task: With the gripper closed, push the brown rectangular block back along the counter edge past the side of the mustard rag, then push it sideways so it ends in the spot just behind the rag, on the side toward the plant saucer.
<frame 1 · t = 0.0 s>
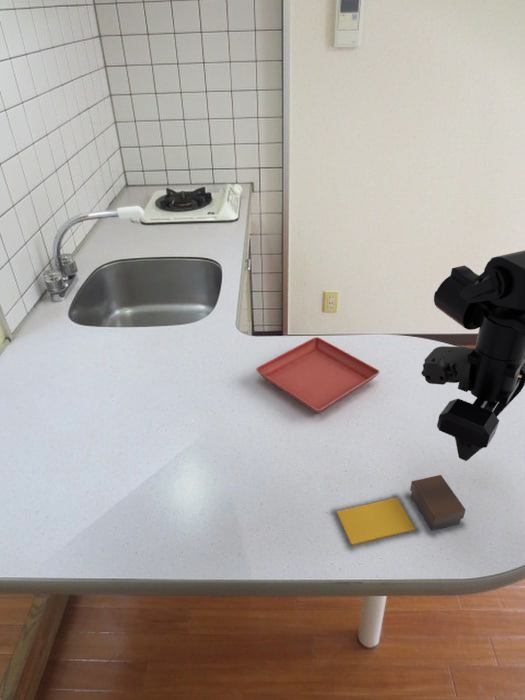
hand: (475, 439, 74), 13 cm above the table, tool pointing down, fingers open, 9 cm apart
plant saucer: (316, 383, 107), on the table
brown rectangular block: (434, 510, 80), on the table
cloth: (375, 521, 79), on the table
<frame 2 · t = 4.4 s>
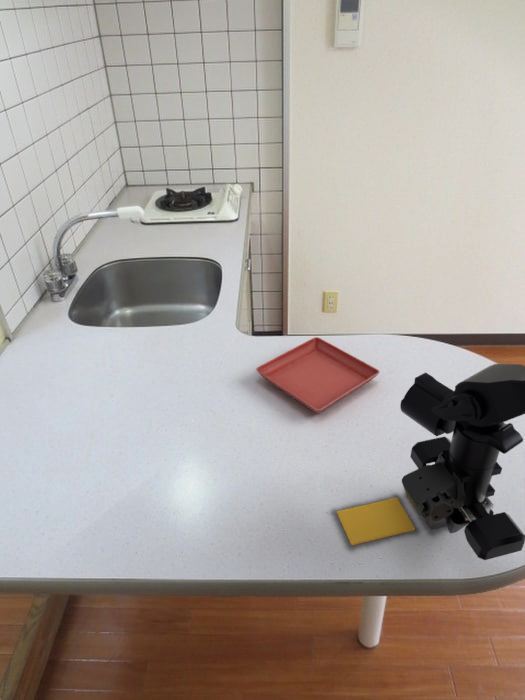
hand: (452, 531, 76), 1 cm above the table, tool pointing down, fingers closed
brown rectangular block: (433, 509, 80), on the table, touching gripper
everything else where it was.
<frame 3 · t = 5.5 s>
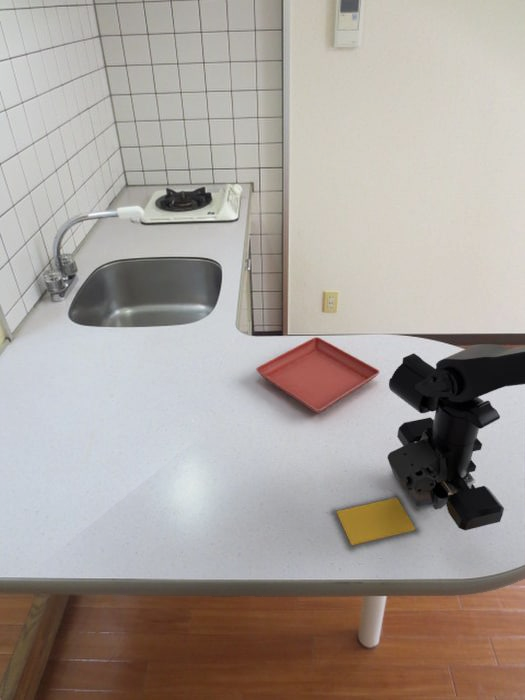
hand: (436, 507, 79), 1 cm above the table, tool pointing down, fingers closed
brown rectangular block: (420, 487, 84), on the table, touching gripper
everything else where it was.
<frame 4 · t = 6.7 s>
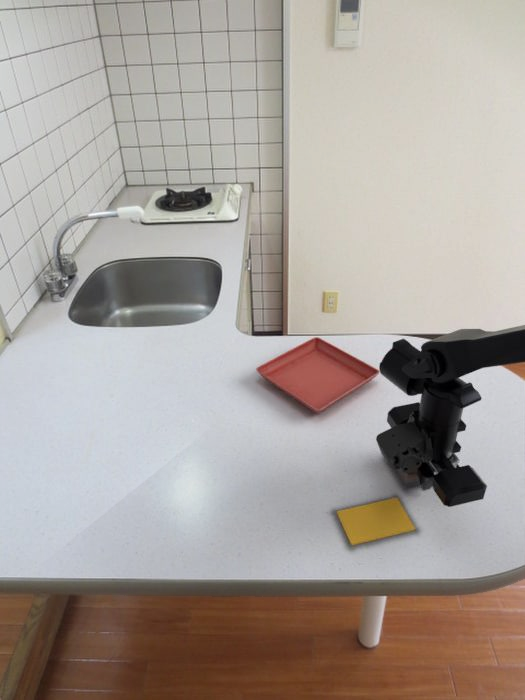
hand: (424, 488, 82), 1 cm above the table, tool pointing down, fingers closed
brown rectangular block: (409, 470, 87), on the table, touching gripper
everything else where it was.
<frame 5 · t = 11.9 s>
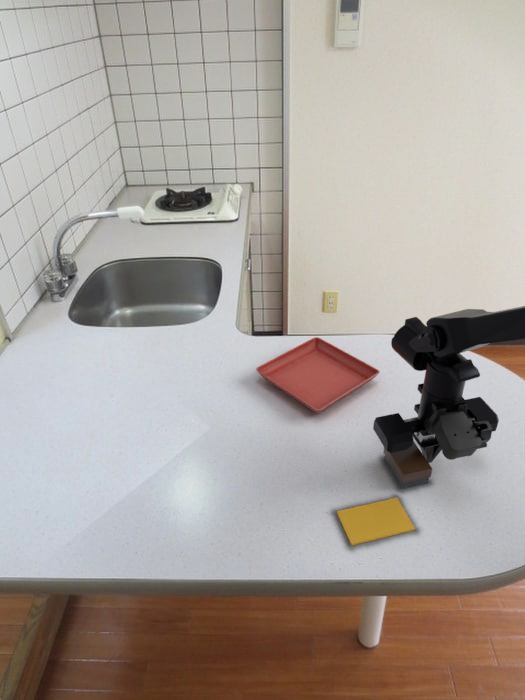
hand: (427, 461, 87), 1 cm above the table, tool pointing down, fingers closed
nothing on the table moved.
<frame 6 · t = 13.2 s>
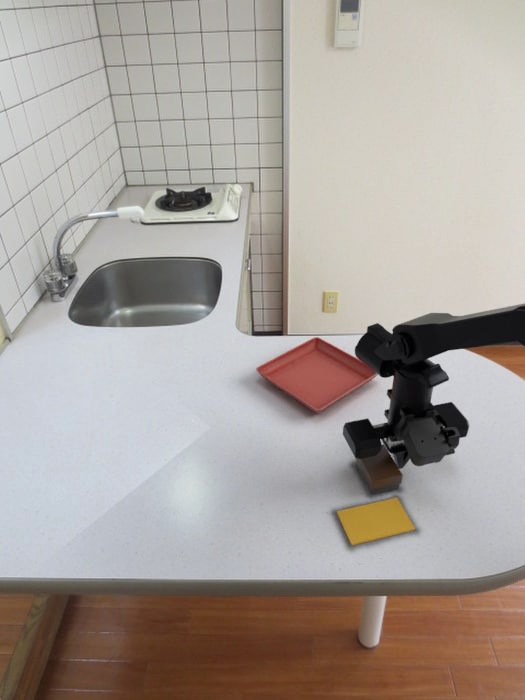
hand: (399, 466, 86), 1 cm above the table, tool pointing down, fingers closed
brown rectangular block: (376, 476, 86), on the table, touching gripper
everything else where it was.
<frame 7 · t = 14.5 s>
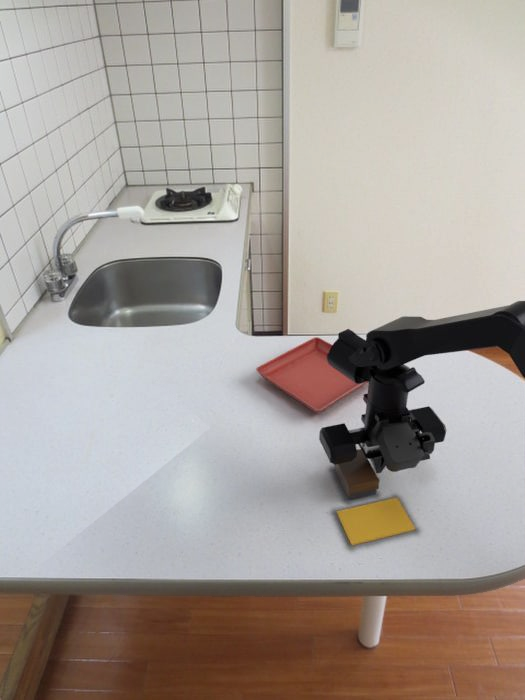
hand: (377, 471, 86), 1 cm above the table, tool pointing down, fingers closed
brown rectangular block: (354, 481, 85), on the table, touching gripper
everything else where it was.
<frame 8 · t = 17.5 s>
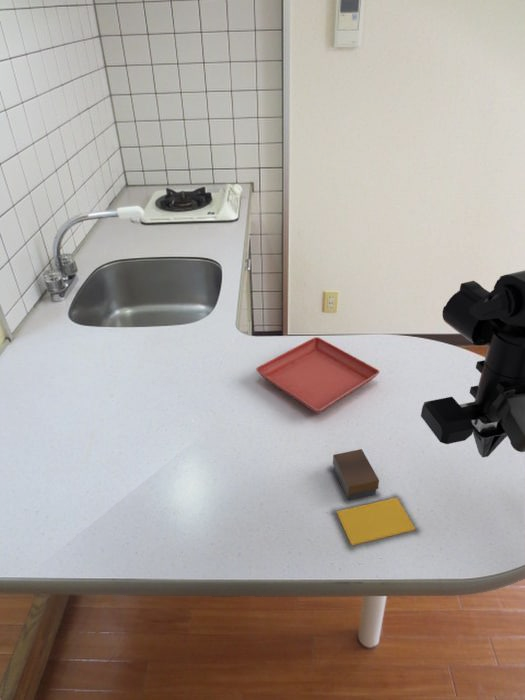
hand: (483, 454, 73), 12 cm above the table, tool pointing down, fingers closed
brown rectangular block: (354, 482, 85), on the table
everything else where it was.
at the end: brown rectangular block inside the target area on the table beside the cloth (0.1 cm from its centre), on the table; brown rectangular block touching table; brown rectangular block 26.7 cm from the plant saucer (horizontally) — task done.
